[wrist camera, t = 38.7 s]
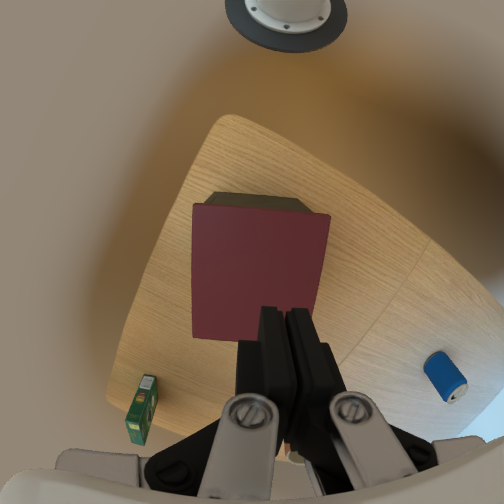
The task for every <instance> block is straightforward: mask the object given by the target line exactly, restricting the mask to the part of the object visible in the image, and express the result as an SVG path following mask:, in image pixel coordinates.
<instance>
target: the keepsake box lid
mask: <svg viewBox="0 0 504 504" xmlns="http://www.w3.org/2000/svg"><path fill="white" fill-rule="evenodd" d="M330 220H331V216H330V215H328V214H321V213H312V212H302V211H292V210H282V209H271V208H260V207H248V206H235V205H222V204H206V203H194V204H193V214H192V262H191V287H192V335H193V338H200V339H210V340H221V341H234V342H238V341H239V340H252V341H257V335H258V327H259V319H260V311H261V306H274V307H277V310H278V311H282V312H283V316H284V319H285V314H286V311H291V309H292V307H294V308H308V310H309V313H310V316H311V318H312V314H313V309H314V305H315V300H316V295H317V291H318V286H319V281H320V276H321V271H322V266H323V260H324V255H325V250H326V244H327V238H328V232H329V226H330Z"/></svg>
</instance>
